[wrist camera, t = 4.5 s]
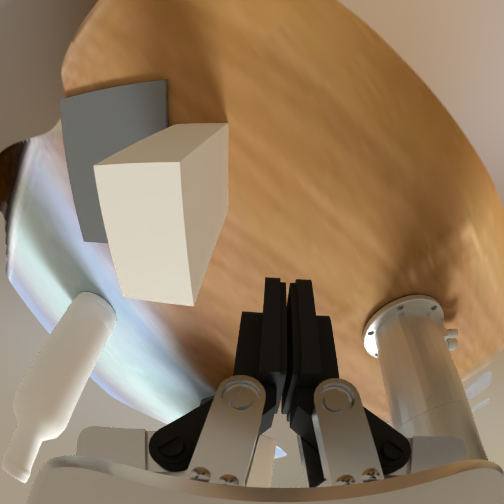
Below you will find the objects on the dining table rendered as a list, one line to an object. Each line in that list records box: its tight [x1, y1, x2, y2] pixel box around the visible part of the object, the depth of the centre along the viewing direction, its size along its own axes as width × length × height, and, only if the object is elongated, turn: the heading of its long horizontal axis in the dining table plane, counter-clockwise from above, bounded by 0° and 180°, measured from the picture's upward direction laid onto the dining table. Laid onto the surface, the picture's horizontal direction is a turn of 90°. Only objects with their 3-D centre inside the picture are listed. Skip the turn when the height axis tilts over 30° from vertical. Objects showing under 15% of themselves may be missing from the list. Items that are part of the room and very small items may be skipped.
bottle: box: [1, 292, 117, 483], centre depth 28 cm, size 8×8×30 cm
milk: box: [246, 435, 276, 488], centre depth 51 cm, size 12×12×26 cm
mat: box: [60, 80, 168, 243], centre depth 27 cm, size 13×18×1 cm
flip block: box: [93, 123, 228, 306], centre depth 21 cm, size 5×9×14 cm, turn 178°
